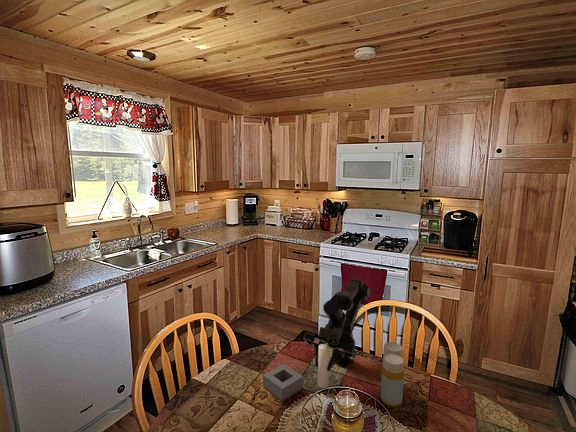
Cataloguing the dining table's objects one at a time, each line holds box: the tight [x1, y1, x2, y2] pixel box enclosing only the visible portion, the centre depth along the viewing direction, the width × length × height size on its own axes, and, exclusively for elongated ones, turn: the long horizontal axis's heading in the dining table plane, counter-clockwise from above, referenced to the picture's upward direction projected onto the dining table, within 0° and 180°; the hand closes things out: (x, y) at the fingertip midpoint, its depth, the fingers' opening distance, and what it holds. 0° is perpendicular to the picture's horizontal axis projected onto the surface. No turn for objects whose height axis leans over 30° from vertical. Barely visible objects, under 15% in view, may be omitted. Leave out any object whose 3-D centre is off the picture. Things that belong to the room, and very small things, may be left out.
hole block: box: [262, 363, 304, 402], centre depth 112 cm, size 10×10×5 cm
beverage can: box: [381, 341, 404, 370], centre depth 114 cm, size 6×7×15 cm
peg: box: [316, 343, 331, 389], centre depth 111 cm, size 4×4×14 cm
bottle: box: [380, 354, 405, 408], centre depth 106 cm, size 7×7×15 cm
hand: (322, 368), depth 110 cm, fingers closed on peg, 4 cm apart
